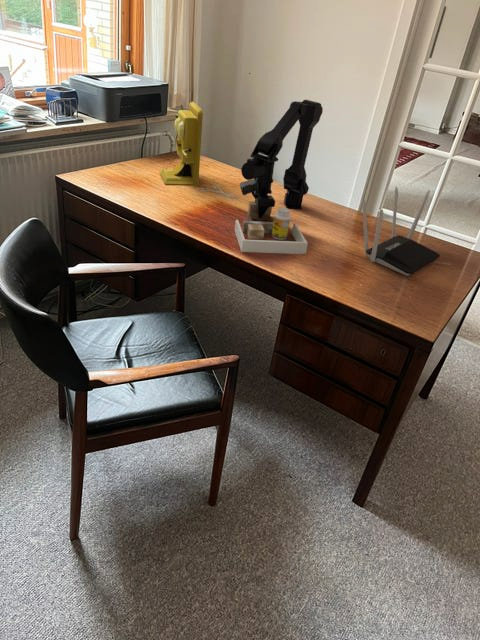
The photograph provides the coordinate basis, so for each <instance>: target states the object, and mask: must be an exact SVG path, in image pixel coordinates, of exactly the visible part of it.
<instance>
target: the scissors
mask: <svg viewBox="0 0 480 640" xmlns="http://www.w3.org/2000/svg"><path fill="white" fill-rule="evenodd" d="M212 188H213V189H217V188H218V190H219V191H218V190H217V191H216V190H211V189H209V188H199V187H197V188H196V190H200V189H201V191H202V192H206V191H209V192H210V191H212V193H218V194H220V195H224V196H225V197H227V198H229V199H231V200H233V201H235V202H237V200H236V199H240V200H242V198H241V197H238V196H234V195H232V194H229V193H226V192H225V191H223V190H222V189H221V186H220V185H217V184H214V185H212ZM206 189H207V190H206ZM234 198H235V199H234Z"/></svg>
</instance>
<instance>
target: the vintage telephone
mask: <svg viewBox="0 0 480 640" xmlns="http://www.w3.org/2000/svg"><path fill="white" fill-rule="evenodd" d="M188 105H189V106H188V110H185V109H183V107H184V106H183V105H182V104H180V109H179V110H178V111H177V114H175V118H176V119H175V120H174V131H175V133H176V136H175V146H174V147H175V150H176V155H175V157H174V158H173V159H172V161H171V162H170V163H169V165H168V166H167V168H166V169H162V170H161V171H160V170H159V172H158V173H159V175H160V177H161V179H162V182H163V183H164V185H165V186H193V187H199V179H200V165H201V164H200V163H201V148H202V147H201V146H202V134H203V133H202V131H203V130H202V128H203V116H204V111H203V109H202V108H201V107H200V106H199V105H197V104H196V103H195V102H194V101H191V102H190V103H189V104H188ZM177 156H178V157H179V158H180V160H181V161H180V162H179V163H177V164H176V165H175V167H174V168H173V169H168V167H169V166H170V165H171V164H172V163H173V161H174V160H175V158H176V157H177Z"/></svg>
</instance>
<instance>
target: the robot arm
mask: <svg viewBox="0 0 480 640" xmlns="http://www.w3.org/2000/svg"><path fill="white" fill-rule="evenodd" d="M322 115H323V106H322V104H321V103H320V102H318V101H312V100H310V99H303V100H302V101H296V100H295V101H292V102H291V103H290V104H289V108H288V109H287V110H286V112H284V115H282V117H281V118H280V119H279V121H278V122H277V123H276V124H275V126H274V127H273V129H271V130H270V131H267V132H265V133H264V134H263V135H262V136H261V137H260V138H259V139H258V141H257V143H256V144H255V147H254V148H253V150H252V151H251V152H252V153H250V154H251V155H250V158H247V160H246V162H245V163H243V164H242V166H241V169H240V172H241V175H242V177H243V179H245V181H242V182H240V183H239V188H240V192H241V194H242V196H247V195H248V194H251V195H252V197H253V198H254V199H255V200H254V202H256V204H257V206H258V217H259V218H262V216H263V215H264V214H265V212H266V211H267V209H268V208H269V207H272V208H274V207H275V206H276V200H275V198H274V197H273V196H272V193H273V191H272V183H274V179H273V177H274V169H275V163H276V162H278V161H279V158H278V157H277V156H278V154H280V152H281V150H282V148H283V142H284V139H285V138H286V136H287V135H288V134H289V133H290V131H291V130H292V129H293V127H294V126H295V125H296V123H297V122H298V123H299V129H298V134H297V139H296V143H295V147H294V148H295V149H294V153H293V157H292V158H293V159H292V161H291V165H290V166H289V167H288V168H285V171H284V175H283V177H282V180H283V189H284V190H286V192H285V193H284V199H283V204H284V206H285V208H287V209H297V210H298V209H299V210H302V209H303V206H302V203H303V199H304V196H306V194H308V192H309V189H310V188H309V186H308V183H307V172H306V168H305V164H306V160H307V156H308V153H309V152H308V151H309V148H310V143H311V140H312V134H313V131H314V128H315V127H316V125H317V124H318V123H319V122H320V120H321V116H322Z"/></svg>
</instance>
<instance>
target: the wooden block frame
mask: <svg viewBox="0 0 480 640" xmlns="http://www.w3.org/2000/svg"><path fill="white" fill-rule="evenodd" d="M272 208H273V207H269V208H268V209H267V211H266V212H265V214H264V215H263V216H262V218H259V217H258V206H257V204H256V202H255V201H249V202H248V208H247V215H246V220H243V221H242V228H241V230H242V232H243V233H247V227H248V224H262V226H263V228H264V230H265V231H264V234H271V235H272V229H273V222H274V216H271V215H272ZM255 220H256V221H255Z"/></svg>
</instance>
